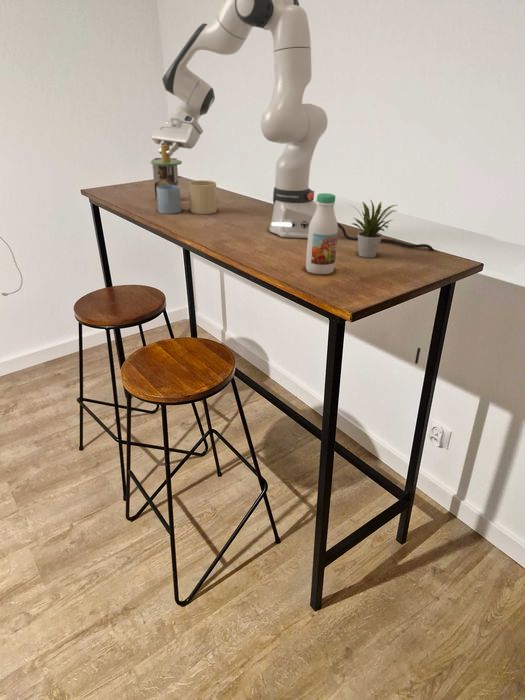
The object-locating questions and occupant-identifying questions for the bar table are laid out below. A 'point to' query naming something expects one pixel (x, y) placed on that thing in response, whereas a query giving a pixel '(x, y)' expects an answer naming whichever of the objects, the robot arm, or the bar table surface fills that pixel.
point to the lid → (165, 158)
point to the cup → (168, 199)
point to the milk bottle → (322, 237)
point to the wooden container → (202, 197)
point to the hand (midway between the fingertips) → (164, 153)
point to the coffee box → (165, 175)
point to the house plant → (371, 230)
